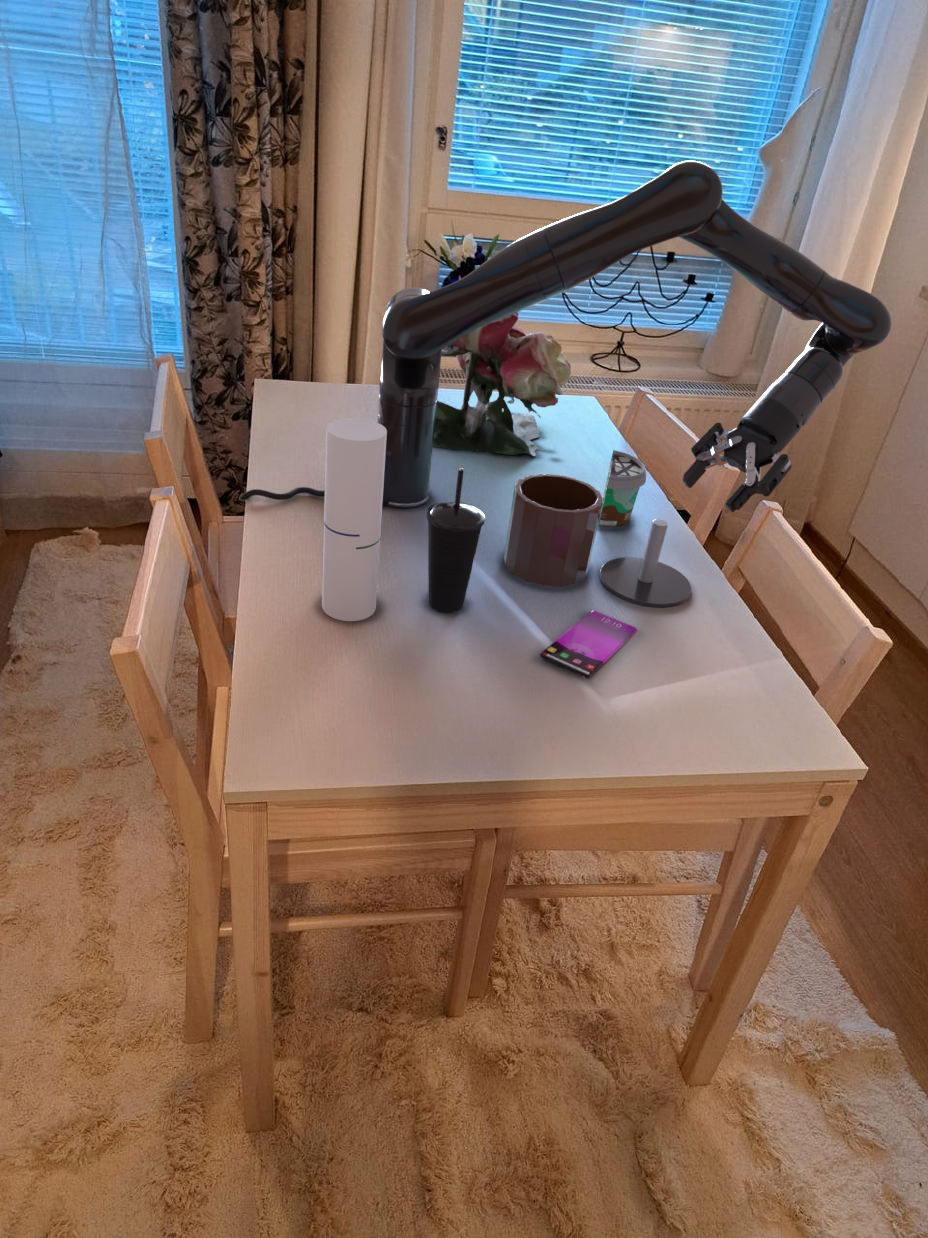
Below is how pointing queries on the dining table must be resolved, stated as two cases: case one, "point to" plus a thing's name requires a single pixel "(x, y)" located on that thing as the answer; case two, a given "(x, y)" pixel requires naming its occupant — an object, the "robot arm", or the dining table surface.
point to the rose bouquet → (501, 388)
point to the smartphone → (589, 643)
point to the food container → (621, 489)
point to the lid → (647, 575)
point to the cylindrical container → (352, 517)
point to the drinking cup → (451, 550)
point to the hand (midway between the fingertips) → (707, 496)
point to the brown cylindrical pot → (552, 529)
